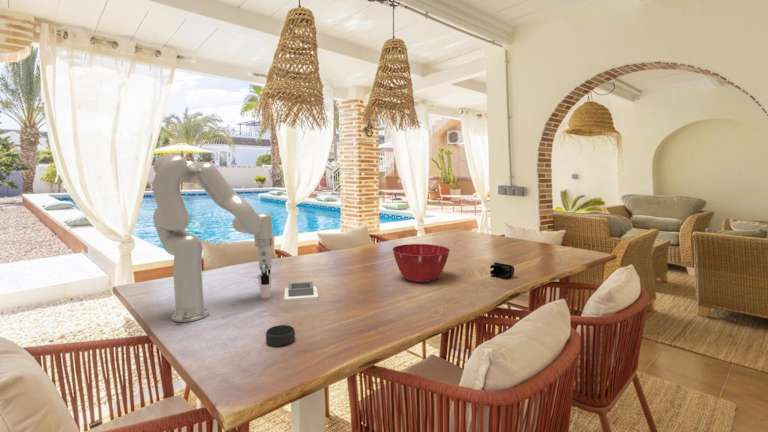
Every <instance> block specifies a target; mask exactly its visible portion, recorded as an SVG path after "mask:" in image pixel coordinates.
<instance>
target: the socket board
mask: <svg viewBox="0 0 768 432" xmlns="http://www.w3.org/2000/svg"><path fill="white" fill-rule="evenodd" d="M318 299H319V295H318V289H317V286H315V285H314V284H313V281H305V282H304V281H303V282H292V283H290V282H289V283H288V287H286V288H284V297H283V300H284V302H294V301H307V300H318Z"/></svg>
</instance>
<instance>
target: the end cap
mask: <svg viewBox="0 0 768 432" xmlns="http://www.w3.org/2000/svg"><path fill="white" fill-rule="evenodd" d="M489 269H490V272H489V273H490V277H492V278H495V277H496V278H495V279H499V278H500V279H501V280H505V281H506V280H509V279H511V278H512V277H513V276H514V275H515V267H514V265H513V264H506V263H500V262H494V263H492V264H490V266H489ZM491 269H492V270H491Z"/></svg>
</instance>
